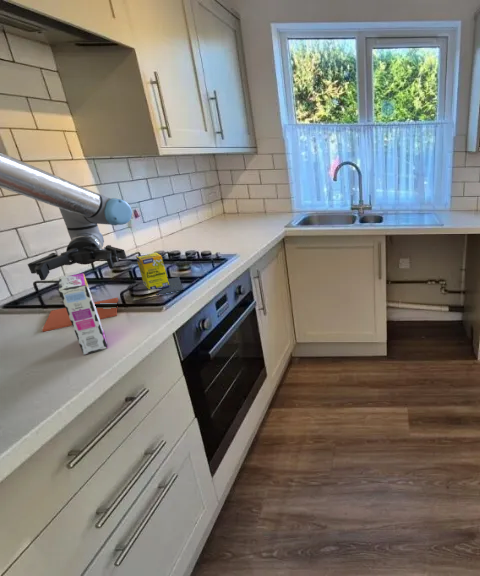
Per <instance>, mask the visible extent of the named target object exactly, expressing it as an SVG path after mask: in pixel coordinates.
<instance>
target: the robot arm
mask: <svg viewBox="0 0 480 576" xmlns="http://www.w3.org/2000/svg"><path fill="white" fill-rule="evenodd" d="M0 188H1V189H4V190H7V191H10V192H12V193H15V194H18V195H20V196H24V197H26V198H30V199H33V200H36V201H38V202H41V203H44V204H47V205H51V206H53V207H55V208H58V209H59V212H60V214H61V216H62V219H63V221H64V224H65V226H66V229H67V233H68V236H69V238H70V241H69V242H68V245H67V246H66V250H65V251H63V252H61V253H60V254H58V253H57V252H51V253H49V254H48V255H46V256H44V257H40V258H39V259H37V260H34V261H31V262H29V263H27V267H28V270H29V271H30V273H31V274H33V275H34V274H36V275H38V277H39V280H40V281H46V279H47V277H48V276H49V274H50V271H52V270H55V269H58V268H61V267H63V266H72V265H74V264H78V265H85V266H87V265H91V264H93V263H96V262H98V261H106V263H107V265H108V268H109V269H110V270H111V269H114V265H115V263H118V262H119V261H120V260H126V259H127V254H126V252H125V249H123V248H118V247H115V246H112V245H111V244H107V245H106V246H104V244H105V239H104V236H103V234H102V233H101V232H100V229H99V226H98V225H110V226H121V225H122V226H123V225H125V224H128V223H129V222H130V221H131V219H132V215H133V210H132V207H131V205H130V204H129V203H128V202H127V201H126V200H124V199H120V198H116V197H112V198H110V197H107V196H105V195H102V194H100V193H98V192H95V191H93V190H90V189H88V188H86V187H84V186H81V185H79V184H76V183H74V182H71V181H70V180H67V179H64V178H62V177H61V176H60V177H59V176H57V175H55V174H53V173H50V172H48V171H46V170H43V169H41V168H39V167H36V166H34V165H32V164H29V163H28V162H25V161H22V160H20V159H18V158H15V157H13V156H12V155H11V156H10V155H8V154H6V153H3V152H1V151H0ZM103 246H104V248H103Z"/></svg>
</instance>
